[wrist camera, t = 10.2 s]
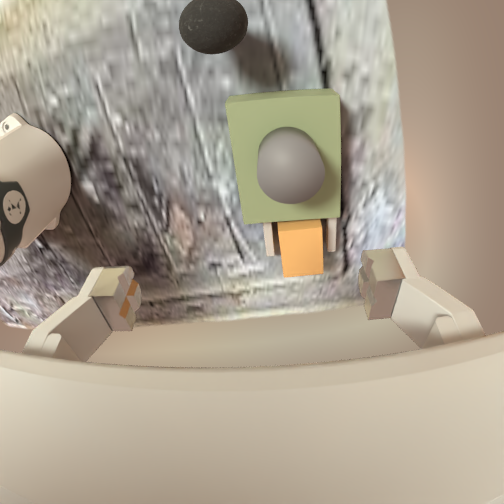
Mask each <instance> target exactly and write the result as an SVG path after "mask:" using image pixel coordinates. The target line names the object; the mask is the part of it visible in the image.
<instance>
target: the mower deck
mask: <svg viewBox="0 0 504 504" xmlns="http://www.w3.org/2000/svg"><path fill="white" fill-rule="evenodd" d="M225 107H226V113H227V119H228V126H229V132H230V139H231V145H232V151H233V158H234V164H235V170H236V177H237V183H238V189H239V196H240V202H241V208H242V215H243V221H244V224H253V223H263V229H264V237H265V246H266V254H267V256H274V240H273V230H272V222H279V221H292V220H306V219H321V218H326V246H327V251H328V252H334V251H335V247H336V221H337V217H340V198H341V123H340V95H339V94H338V93H336V92H335V91H334V90H333V89H306V90H288V91H275V92H263V93H253V94H244V95H235V96H229V98H228V99H227V101H226V103H225Z"/></svg>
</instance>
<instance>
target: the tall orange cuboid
mask: <svg viewBox="0 0 504 504" xmlns="http://www.w3.org/2000/svg"><path fill="white" fill-rule="evenodd" d="M278 235H279V242H280V250H281V258H282V266H283V274H284V277H294V276H304V275H314V274H323V238H322V225H321V221H320V219H306V220H292V221H279V222H278Z"/></svg>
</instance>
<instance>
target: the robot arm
mask: <svg viewBox="0 0 504 504" xmlns="http://www.w3.org/2000/svg"><path fill="white" fill-rule="evenodd" d="M8 125H9V127H8ZM70 189H71V176H70V170H69V166H68V163H67V160H66V158H65V155H64V154H63V152H62V150H61V148H60V147H59V145H58V144H57V143H56V142H55V140H54V139H53V138H52V137H51V136H49V135H48V134H47V133H46V132H44V131H42V130H41V129H38V128H36V127H33V126H31V125H29V124H27V123H26V122H25V121H24V120H23V119H22V118H21V117H20V116H19V115H18V114H16V113H13V114H11V115H10V116H8V117H7V118H6V119H5V120H4V121H2V122H1V123H0V266H2V265H3V264H4V263H5V262H6V261H7V260H8V259H10V257H11V256H12V255H13V254H14V252H15V250H16V249H17V248H26V247H28V246H29V245H30V244H31V243H32V242H33V241H34V240H35V239H36V238H37V237H38V236H39V235H40V234H41V233H42V231H43V230H44V229H46V230H53V229H54V228H56V227H57V226H58V224H59V218H60V212H61V210H62V208H63V207H64V205H65V204H66V202H67V200H68V197H69V194H70ZM361 262H362V265H363V266H362V267H361V268H360V269H359V276H358V284H359V290H360V294H361V296H362V297H363V298H364V299H365V302H364V307H365V311H366V314H367V317H368V320H372V319H383V318H391V319H392V320H393V321H394V322H395V323H396V324H397V325H398V326H399V327H400V328H401V329H402V330H403V331H404V332H405V333H406V334H407V335H408V336H409V337H410V338H411V339H412V340H413V341H414V342H415V343H416V344H417V345H418V346H419V347H420V348H421V349H418V350H412V351H406V352H401V353H395V354H387V355H380V356H373V357H367V358H358V359H349V360H340V361H330V362H320V363H309V364H297V365H280V366H262V367H261V366H260V367H228V368H183V367H149V366H132V365H117V364H103V363H92V362H86V361H87V360H88V359H89V358H90V357H91V355H92V354H93V353H94V352H95V351H96V350H97V349H98V348H99V346H100V345H101V344H102V343H103V342H104V341H105V340H106V338H108V336H109V335H110V334H111V333H112V331H132V329H133V326H134V323H135V320H136V315H135V313H134V312H135V311H137V310H138V309H139V308H140V305H141V299H142V293H141V289H140V286H139V284H138V283H137V282H136V281H135V280H134V279H133V277H134V272H133V270H132V268H131V267H130V266H110V267H95V268H93V269H92V270H91V272H90V274H89V276H88V278H87V279H86V281H85V283H84V285H83V287H82V289H81V291H80V293H79V295H78V297H74V298H72V299H71V300H70V301H69V302H67V303H66V304H65V305H63V306H62V307H61V308H60V309H58V310H57V311H56V312H55V313H53V314H52V315H51V316H50V317H49V318H47V319H46V320H45V321H44V322H42V323H41V324H40V325H39V326H38V327H36V328H35V329H34V330H33V331H32V333H31V335H30V337H29V339H28V341H27V343H26V345H25V347H24V350H23V352H22V353H16V352H10V351H5V350H0V504H504V331H501V332H497V333H493V334H489V335H485V333H484V331H483V329H482V327H481V325H480V323H479V321H478V319H477V317H476V315H475V313H474V311H473V310H472V309H471V308H469V307H468V306H466V305H465V304H463V303H462V302H461V301H459V300H458V299H456V298H455V297H453V296H452V295H450V294H449V293H448V292H446V291H444V290H443V289H442V288H440V287H438V286H437V285H436V284H434V283H433V282H431V281H430V280H428V279H427V278H425V277H420V275H419V273H418V271H417V270H416V268H415V266H414V264H413V262H412V260H411V258H410V256H409V254H408V253H407V251H406V249H405V248H404V247H394V248H388V249H375V250H363V252H362V254H361Z"/></svg>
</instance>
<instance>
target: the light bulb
mask: <svg viewBox="0 0 504 504" xmlns="http://www.w3.org/2000/svg"><path fill="white" fill-rule="evenodd" d="M247 27H248V18H247V14H246V12H245V9H244V8H243V6H242V5H241V4H240V3H239V2H238V1H236V0H193V1H191V2H190V3H189V4H188V5H187V6H186V7H185V9H184V10H183V12H182V14H181V17H180V20H179V30H180V34H181V36H182V39H183V40H184V41H185V43H186V44H187V45H188V46H190V47H191V48H192V49H194V50H196V51H198V52H201V53H205V54H219V53H223V52H226V51H228V50H230V49H232V48H234V47H235V46H237V45H238V44H239V43H240V42H241V40H242V39H243V38H244V36H245V34H246V31H247Z"/></svg>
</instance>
